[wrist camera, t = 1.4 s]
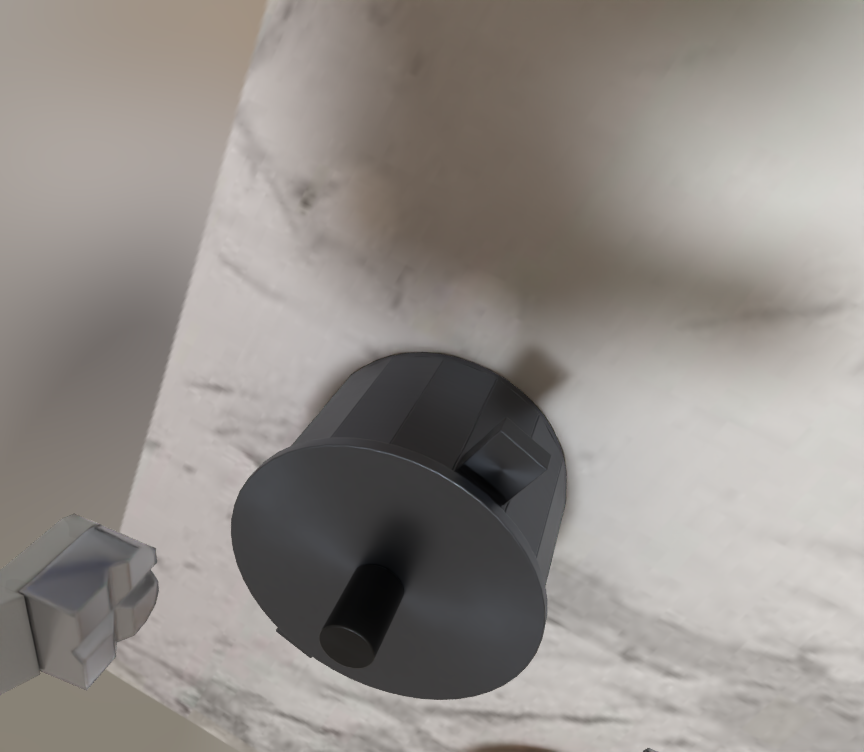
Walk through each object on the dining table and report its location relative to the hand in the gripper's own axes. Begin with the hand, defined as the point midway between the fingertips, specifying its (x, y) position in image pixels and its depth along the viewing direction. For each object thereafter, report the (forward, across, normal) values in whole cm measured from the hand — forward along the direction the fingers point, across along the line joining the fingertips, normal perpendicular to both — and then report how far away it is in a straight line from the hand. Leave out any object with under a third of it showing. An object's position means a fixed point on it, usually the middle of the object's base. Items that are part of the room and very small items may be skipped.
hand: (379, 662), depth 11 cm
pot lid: (+14, +4, +15) cm, 21 cm away
